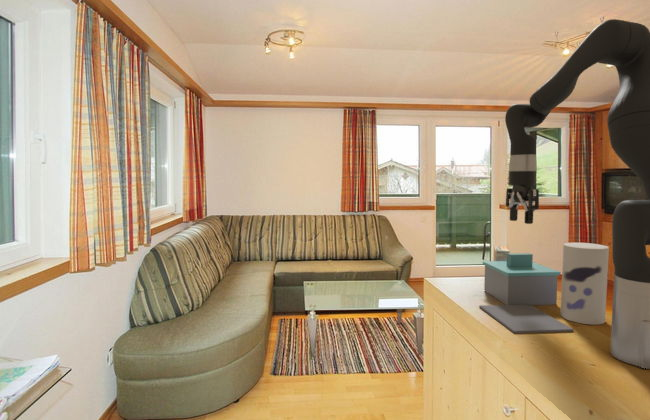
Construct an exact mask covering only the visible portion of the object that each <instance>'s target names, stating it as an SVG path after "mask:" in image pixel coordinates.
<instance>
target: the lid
mask: <svg viewBox="0 0 650 420" xmlns="http://www.w3.org/2000/svg"><path fill="white" fill-rule="evenodd" d="M482 265H483V266H484V267H485V266H487V267H489V268H491V269H493V270H495V271H498V272H500V273H502V274H504V275H506V276H550V275H558V276H561V271H558V270H556V269H553V268H551V267H549V266H547V265H546V266H545V265H542V264H539V263H536V262H534V260H533V254H532V253H530V252H523V253H522V252H514V253H513V252H512V253H511V252H510V253H507V261H494V260H492V261H491V260H490V261H489V260H488V261H487V260H486V261H482Z"/></svg>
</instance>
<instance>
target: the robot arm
mask: <svg viewBox="0 0 650 420" xmlns="http://www.w3.org/2000/svg"><path fill="white" fill-rule="evenodd" d="M597 63H598V64H603V65H609V66H614V67H615V69H616V71H617V74H618V80H619V81H618V83H619V91H618V93H617V95H616V97H615V99H614V100H613V103H612V104H611V106H610V108H609V111H608V114H607V117H606V118H607V119H606V121H607V122H606V123H607V130H608V136H609V142H610V146H611V148H612V151H614V153H615V154H616V156H617V157H618V158H619V159H620V160H621V161H622V162H623V163H624V164H625V165H626V166H627V167H628V168H629V169H630V170H631V171H632V172H633V173H634V175H636V177H637V178H638V180H639V181H640V183H641V185H642V187H643V189H644V192H645V196H646V199H627V200H623V201H621V202H619V203H618V204H617V205H616V207H615V208H614V211H613V215H612V221H611V222H612V223H611V225H612V228H611V229H612V230H611V234H612V235H611V237H612V243H611V244H612V254H611V255H612V262H613V266H614V273H613V274H614V276H613V278H614V279H613V292H612V293H613V295H612V313H611V329H610V351H609V353H610V354H611V356H612V357H614V358H616V359H617V360H618V361H621V362H624V363H625V364H629V365H633V366H636V367H638V366H639V368H640V367H641V368H640V369H642V368H644V370H645V368H646V369H648V370H649V369H650V257H649V256H648V254H647V248H646V246H650V30H649V28H648V27H647V26H646V25H645V24H642V23H639V22H633V21H628V20H623V19H614V18H612V19H607V20H604V21H602V22H601V23H600V24H598V25H597V26H596V27H595V28H594V29H592V31H591V32H589V34H587V36H586V37H585V38H584V39H583V40H582V42H581V43H580V44H579V46H577V47H576V49H575V50H574V51H573V52H572V54H571V55H570V56H569V57H568V58H567V60H565V62H564V63H563V65H561V66H560V67H559V69H558V70H557V71H556V72H555V73H554V74H553V75H552V76H551V77H550V78H549V79H548V80H547V81H546V82H545V83H543V84H542V85H541V86H540V87H539V88H538V89H536V90H535V91H534V92H533V93H532V94H531V96H530V97H529V103H528V104H527V103H514V104H511V105H510V106H509V107H508V109H507V110H506V113H505V126H506V129H507V133H508V137H509V141H510V151H509V152H510V154H509V155H510V157H509V162H508V163H509V164H508V185H509V186H512V187H508V188H506V193H505V207H508V209H509V221H512V222H516V221H518V217H519V216H518V214H519V213H518V211H519V210H518V207H519V206H520V205H521V206H523V209H524V224H526V225H531V224H533V223H534V212H535V211H536V210H537V211H538V210H539V206H540V204H539V203H540V198H539V197H540V195H539V194H540V192H539V189H538V188H535V189H533V188H532V186H535V185H536V184H537V183H536V182H537V139H536V137H535V136H534V135H531V134H528V133H527V132H526V128H527V129H531V128H535V127H538V126H539V125H541V124H543V122H544V121H545V119H547V117H548V116H549V114H550V112H551V111H552V110H554V109H555V108H556V107H557V106H559V105H560V104H562V103H563V102H565V100H567V99H568V98H569V97H570V96H571V94H572V93H573V91H574V90H575V87H576V85H577V83H578V79H579V77H580V76H581V74H582V73H584V72H585V71H586V70H587V69H589V68H590V67H592V66H594V65H595V64H597Z"/></svg>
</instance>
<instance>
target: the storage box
mask: <svg viewBox="0 0 650 420" xmlns="http://www.w3.org/2000/svg"><path fill="white" fill-rule="evenodd" d="M558 276H559V275H550V276H506V275H504V274H502V273H500V272H498V271H495V270H493V269H491V268H489V267H487V266H485V265H484V287H483V288H484V289H483V290H485V291H486V292H485V291H484V292H485V293H487V292H488V293H489V294H488V293H487V294H488V295H490V296H491V295H492V296H491V297H493V298H495V299H496V300H497V301H499V302H501V303H502V304H503V305H521V304H530V305H531V306H538V305H539V306H541V305H542V306H544V305H545V306H547V305H557V299H558V297H557V295H558V278H559V277H558Z"/></svg>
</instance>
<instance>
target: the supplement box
mask: <svg viewBox="0 0 650 420" xmlns="http://www.w3.org/2000/svg"><path fill="white" fill-rule="evenodd" d="M507 253H511V251H510V249H509V247H508V246H501V245H500V246H499V245H498V246H495V245H494V246H493V261H507Z"/></svg>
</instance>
